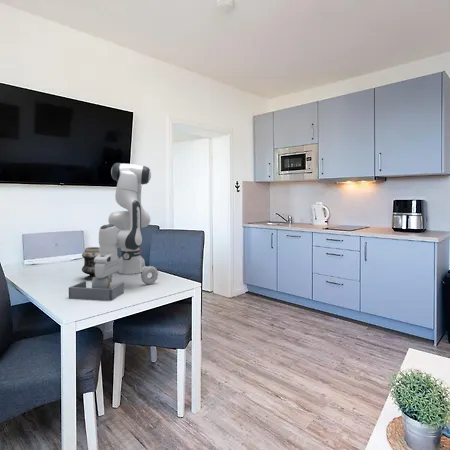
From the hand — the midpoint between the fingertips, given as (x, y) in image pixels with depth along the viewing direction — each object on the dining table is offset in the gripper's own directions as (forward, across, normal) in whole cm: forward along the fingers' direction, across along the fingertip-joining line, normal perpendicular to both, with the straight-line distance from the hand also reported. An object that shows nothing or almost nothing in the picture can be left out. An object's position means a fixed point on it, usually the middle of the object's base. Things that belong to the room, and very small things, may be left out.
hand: (108, 283), depth 167 cm
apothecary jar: (+3, -20, -20) cm, 29 cm away
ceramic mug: (+3, +5, -2) cm, 6 cm away
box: (+3, +11, 0) cm, 11 cm away
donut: (+4, -13, +17) cm, 22 cm away
